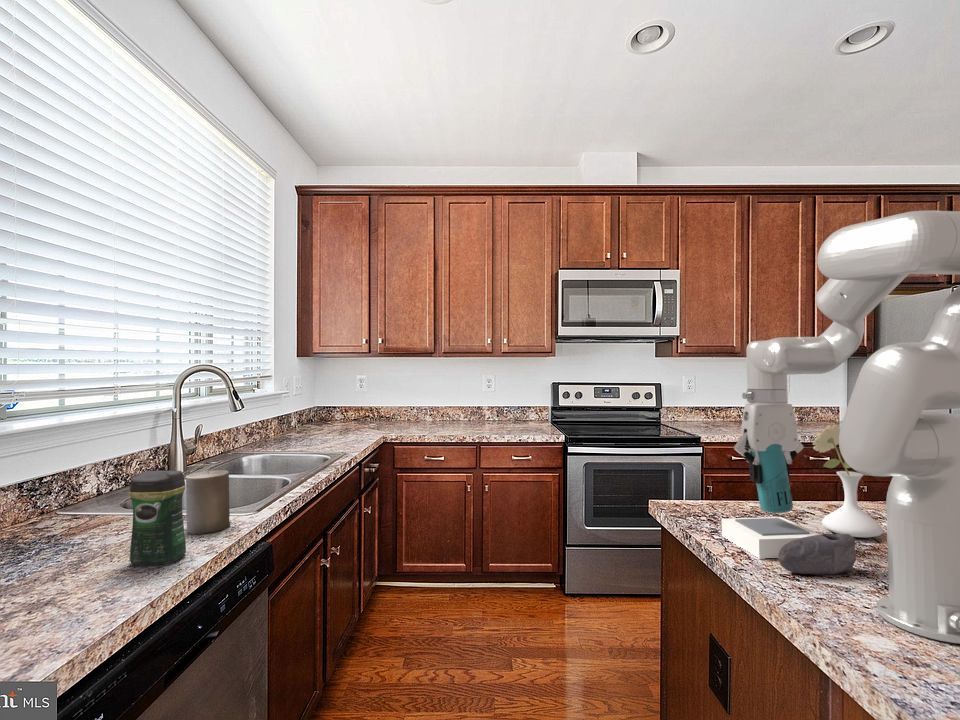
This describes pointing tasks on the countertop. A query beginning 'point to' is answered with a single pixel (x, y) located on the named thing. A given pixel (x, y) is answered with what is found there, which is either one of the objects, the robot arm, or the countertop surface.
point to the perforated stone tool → (819, 554)
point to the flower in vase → (849, 514)
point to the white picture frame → (763, 534)
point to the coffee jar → (157, 517)
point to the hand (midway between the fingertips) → (769, 481)
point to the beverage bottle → (774, 481)
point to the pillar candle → (207, 501)
